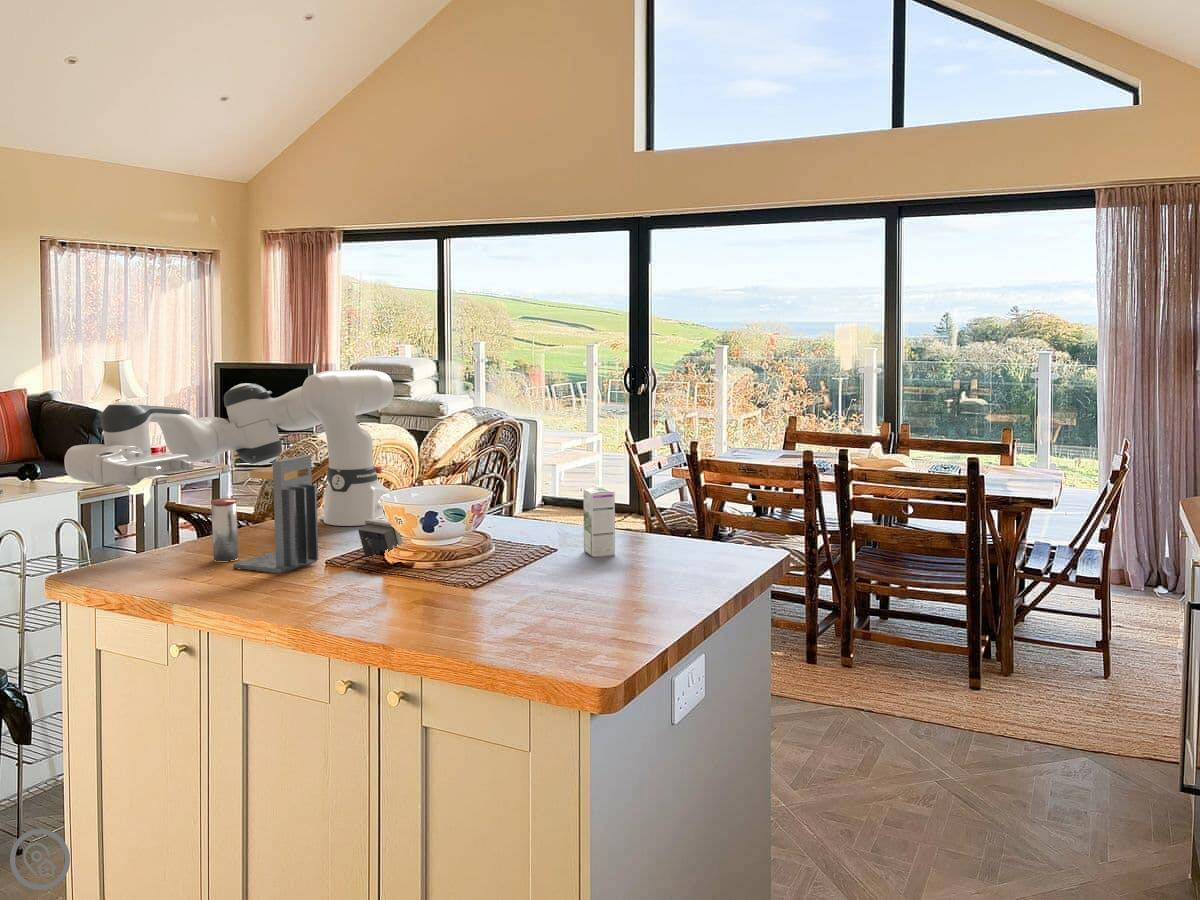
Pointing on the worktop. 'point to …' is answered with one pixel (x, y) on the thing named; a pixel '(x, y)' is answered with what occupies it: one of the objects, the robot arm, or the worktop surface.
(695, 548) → the worktop surface
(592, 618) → the worktop surface
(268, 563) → the bracket
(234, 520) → the can
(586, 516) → the syrup box
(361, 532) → the electrical switch
